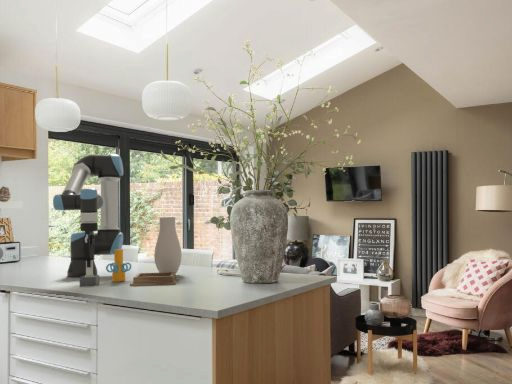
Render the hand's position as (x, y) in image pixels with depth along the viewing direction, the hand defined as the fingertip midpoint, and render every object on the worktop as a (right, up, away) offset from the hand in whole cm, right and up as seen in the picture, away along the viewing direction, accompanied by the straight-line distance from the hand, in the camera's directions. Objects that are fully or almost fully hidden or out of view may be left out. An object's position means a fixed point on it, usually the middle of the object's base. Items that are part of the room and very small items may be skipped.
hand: (89, 274), depth 232 cm
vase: (+31, -6, +31) cm, 44 cm away
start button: (0, -3, 0) cm, 3 cm away
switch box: (0, -5, 0) cm, 5 cm away
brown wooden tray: (+29, -5, +5) cm, 30 cm away
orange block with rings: (+10, -5, +13) cm, 17 cm away
